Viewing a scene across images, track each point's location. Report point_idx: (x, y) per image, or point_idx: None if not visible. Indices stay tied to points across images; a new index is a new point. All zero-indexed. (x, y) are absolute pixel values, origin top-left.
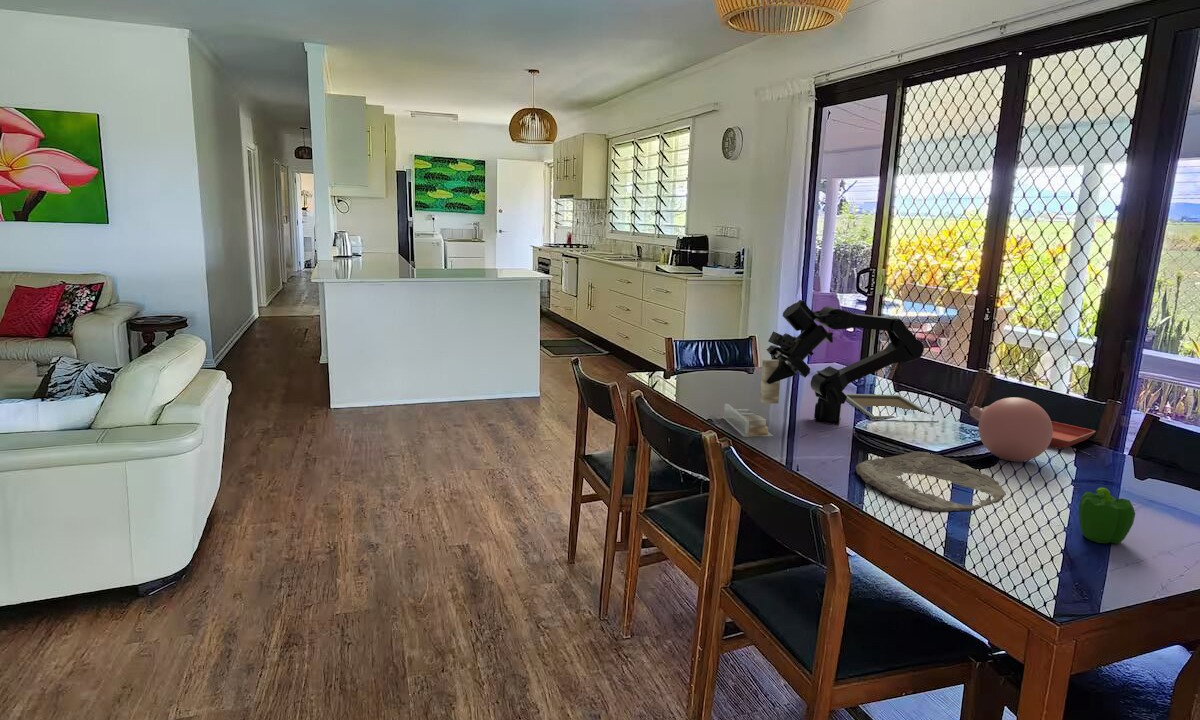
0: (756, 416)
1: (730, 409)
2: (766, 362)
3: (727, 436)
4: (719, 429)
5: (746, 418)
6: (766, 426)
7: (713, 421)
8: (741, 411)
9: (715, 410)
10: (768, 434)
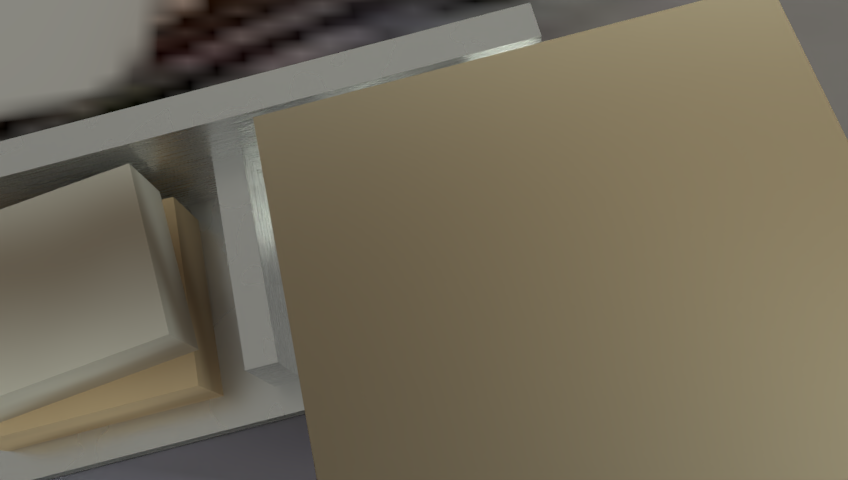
0: (95, 317)
1: (332, 60)
2: (283, 193)
3: (28, 116)
4: (213, 61)
5: (13, 205)
6: (5, 431)
7: (444, 17)
8: None
9: (841, 29)
10: (2, 457)
